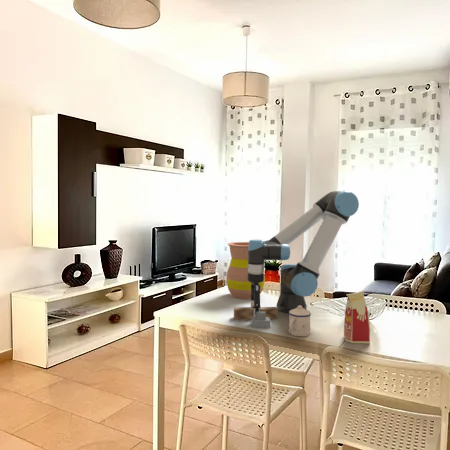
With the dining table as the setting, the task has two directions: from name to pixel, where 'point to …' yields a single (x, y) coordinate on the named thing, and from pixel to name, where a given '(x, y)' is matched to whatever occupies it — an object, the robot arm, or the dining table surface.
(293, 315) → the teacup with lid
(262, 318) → the block
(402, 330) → the dining table surface
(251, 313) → the walnut bar
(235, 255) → the vase
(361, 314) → the milk carton
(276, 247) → the robot arm
